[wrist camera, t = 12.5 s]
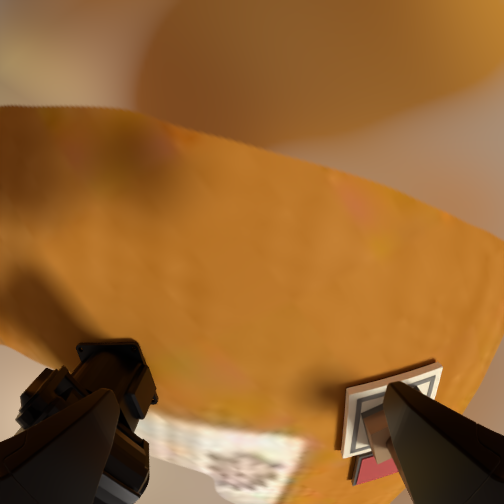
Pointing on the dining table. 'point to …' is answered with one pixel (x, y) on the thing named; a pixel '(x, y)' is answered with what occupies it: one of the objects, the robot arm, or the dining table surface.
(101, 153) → the dining table surface
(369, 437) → the stamp
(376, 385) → the marked board
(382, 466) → the ink pad
